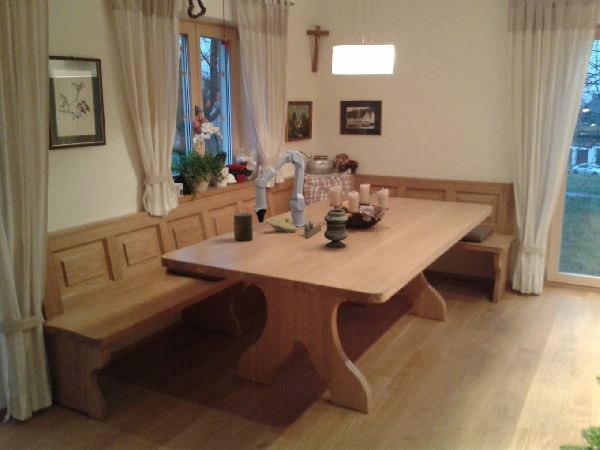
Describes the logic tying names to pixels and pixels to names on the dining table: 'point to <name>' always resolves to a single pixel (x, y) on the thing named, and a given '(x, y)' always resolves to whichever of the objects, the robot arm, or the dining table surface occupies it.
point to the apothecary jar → (336, 227)
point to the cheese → (282, 223)
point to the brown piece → (311, 229)
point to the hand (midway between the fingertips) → (261, 222)
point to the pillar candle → (243, 227)
